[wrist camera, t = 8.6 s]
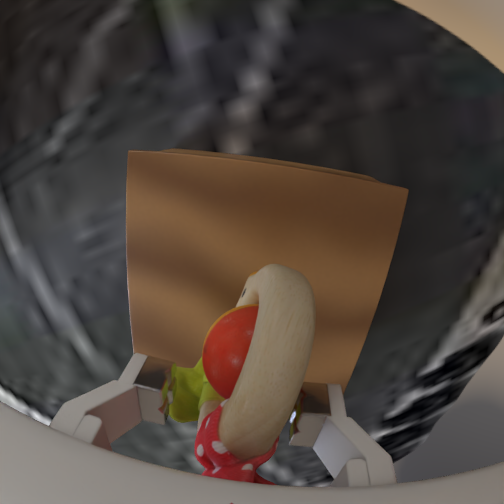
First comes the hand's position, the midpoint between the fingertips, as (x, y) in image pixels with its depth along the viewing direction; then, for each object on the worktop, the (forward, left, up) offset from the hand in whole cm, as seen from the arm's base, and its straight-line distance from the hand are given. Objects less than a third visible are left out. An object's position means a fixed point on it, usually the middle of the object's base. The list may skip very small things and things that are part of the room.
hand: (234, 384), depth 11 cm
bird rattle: (0, 0, -4) cm, 4 cm away
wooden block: (0, 0, -12) cm, 12 cm away
